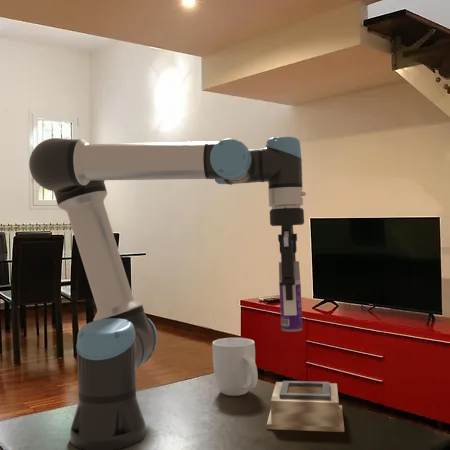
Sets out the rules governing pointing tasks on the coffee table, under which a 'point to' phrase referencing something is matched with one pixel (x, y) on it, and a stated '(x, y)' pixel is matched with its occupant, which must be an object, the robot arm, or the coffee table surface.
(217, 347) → the mug
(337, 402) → the socket
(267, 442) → the coffee table surface
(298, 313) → the container
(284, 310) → the robot arm
